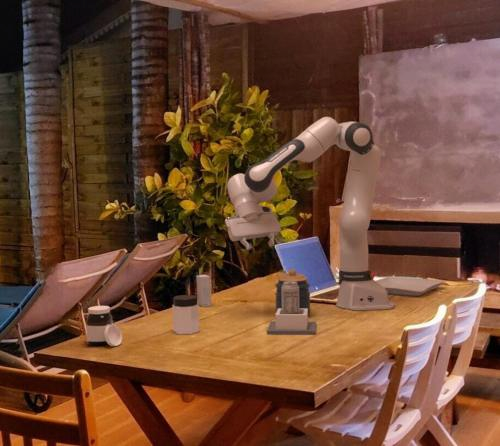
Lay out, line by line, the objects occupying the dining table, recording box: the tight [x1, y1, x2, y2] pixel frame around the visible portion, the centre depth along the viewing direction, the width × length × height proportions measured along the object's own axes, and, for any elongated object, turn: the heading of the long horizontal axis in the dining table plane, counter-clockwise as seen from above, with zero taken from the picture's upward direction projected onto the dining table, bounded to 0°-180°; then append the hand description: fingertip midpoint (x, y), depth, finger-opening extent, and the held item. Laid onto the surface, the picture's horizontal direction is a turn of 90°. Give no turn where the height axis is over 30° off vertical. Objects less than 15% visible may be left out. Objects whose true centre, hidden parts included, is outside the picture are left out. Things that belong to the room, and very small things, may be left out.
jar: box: [172, 294, 200, 335], centre depth 243 cm, size 9×8×12 cm
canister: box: [274, 268, 311, 318], centre depth 263 cm, size 13×13×18 cm
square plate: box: [375, 276, 445, 297], centre depth 310 cm, size 27×27×4 cm
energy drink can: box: [281, 281, 299, 314], centre depth 243 cm, size 6×6×15 cm
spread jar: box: [85, 305, 123, 347], centre depth 229 cm, size 12×11×12 cm
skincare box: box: [195, 274, 212, 308], centre depth 287 cm, size 6×4×12 cm
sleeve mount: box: [266, 308, 317, 336], centre depth 243 cm, size 16×14×6 cm
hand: (260, 247), depth 258 cm, fingers open, 8 cm apart
